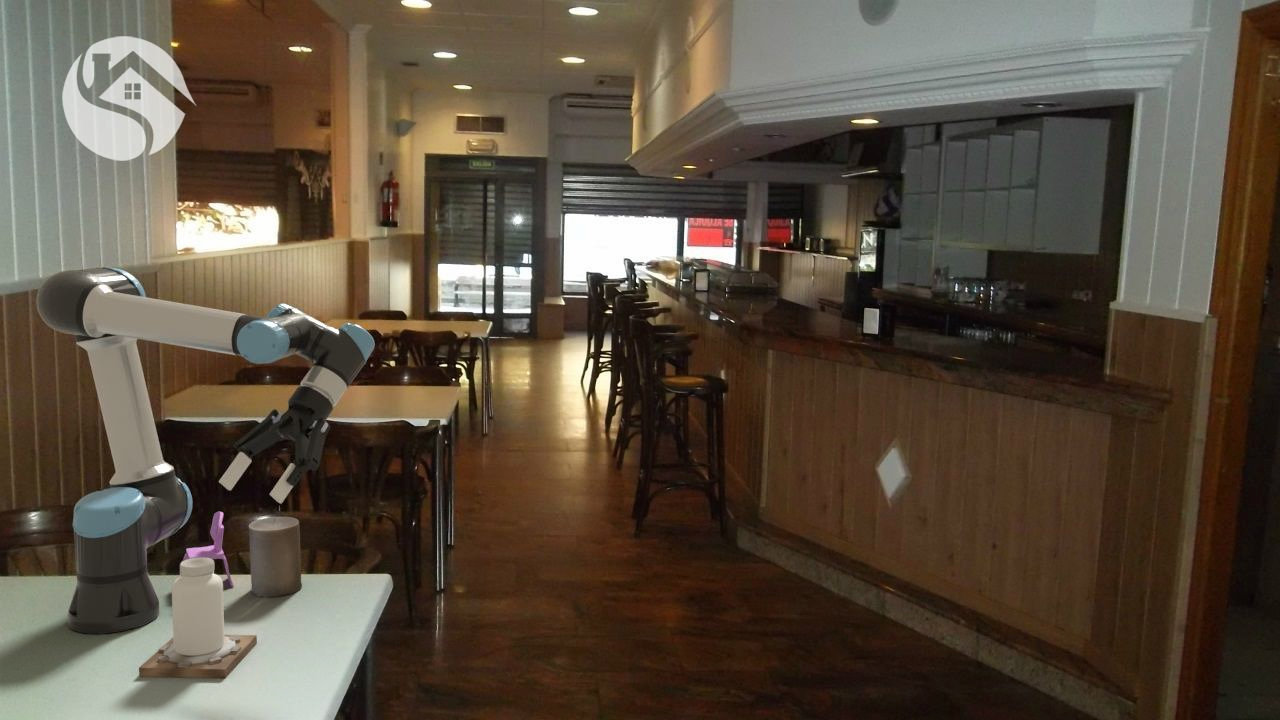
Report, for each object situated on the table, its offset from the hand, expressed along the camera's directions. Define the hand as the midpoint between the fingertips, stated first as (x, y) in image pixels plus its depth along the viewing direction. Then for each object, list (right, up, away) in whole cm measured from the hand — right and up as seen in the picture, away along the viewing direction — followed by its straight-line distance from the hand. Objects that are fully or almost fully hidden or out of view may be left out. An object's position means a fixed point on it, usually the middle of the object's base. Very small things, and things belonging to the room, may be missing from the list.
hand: (249, 492), depth 182 cm
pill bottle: (-6, -26, -5) cm, 27 cm away
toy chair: (-19, -23, +29) cm, 42 cm away
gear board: (-6, -27, -5) cm, 29 cm away
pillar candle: (-5, -23, +28) cm, 37 cm away
